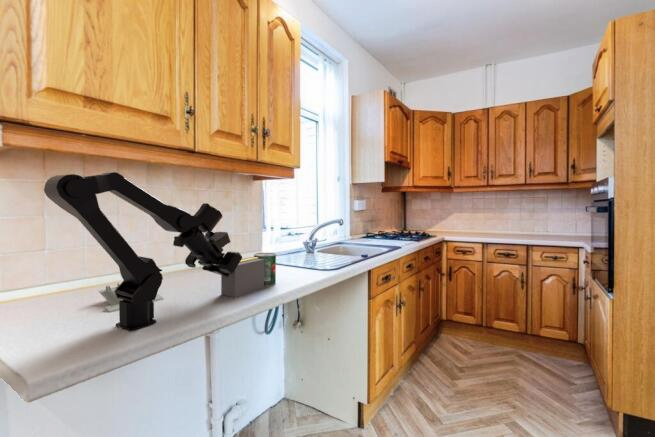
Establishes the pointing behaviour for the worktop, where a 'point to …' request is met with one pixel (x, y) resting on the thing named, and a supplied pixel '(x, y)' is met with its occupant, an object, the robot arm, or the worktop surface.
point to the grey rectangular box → (244, 278)
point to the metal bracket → (114, 301)
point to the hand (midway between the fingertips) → (227, 275)
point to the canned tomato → (268, 267)
